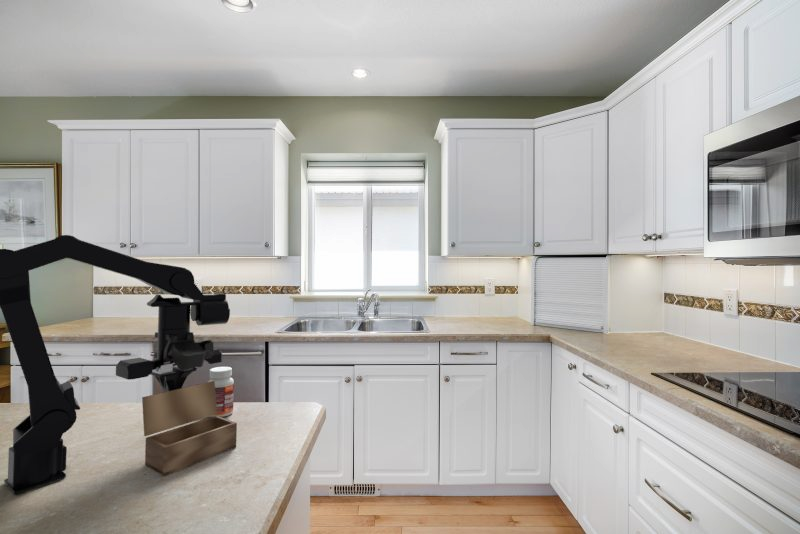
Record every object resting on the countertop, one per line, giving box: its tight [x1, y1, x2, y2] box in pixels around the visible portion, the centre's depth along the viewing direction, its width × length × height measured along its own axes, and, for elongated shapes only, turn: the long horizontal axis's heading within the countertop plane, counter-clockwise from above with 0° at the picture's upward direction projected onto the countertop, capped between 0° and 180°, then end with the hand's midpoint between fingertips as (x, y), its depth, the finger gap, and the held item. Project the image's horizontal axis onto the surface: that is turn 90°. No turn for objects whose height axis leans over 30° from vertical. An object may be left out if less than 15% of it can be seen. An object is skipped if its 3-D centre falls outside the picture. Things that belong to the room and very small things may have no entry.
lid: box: [141, 381, 217, 437], centre depth 79 cm, size 14×7×1 cm
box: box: [144, 416, 238, 477], centre depth 76 cm, size 14×7×5 cm, turn 147°
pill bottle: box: [207, 366, 235, 418], centre depth 99 cm, size 6×6×11 cm
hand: (172, 403), depth 81 cm, fingers closed
